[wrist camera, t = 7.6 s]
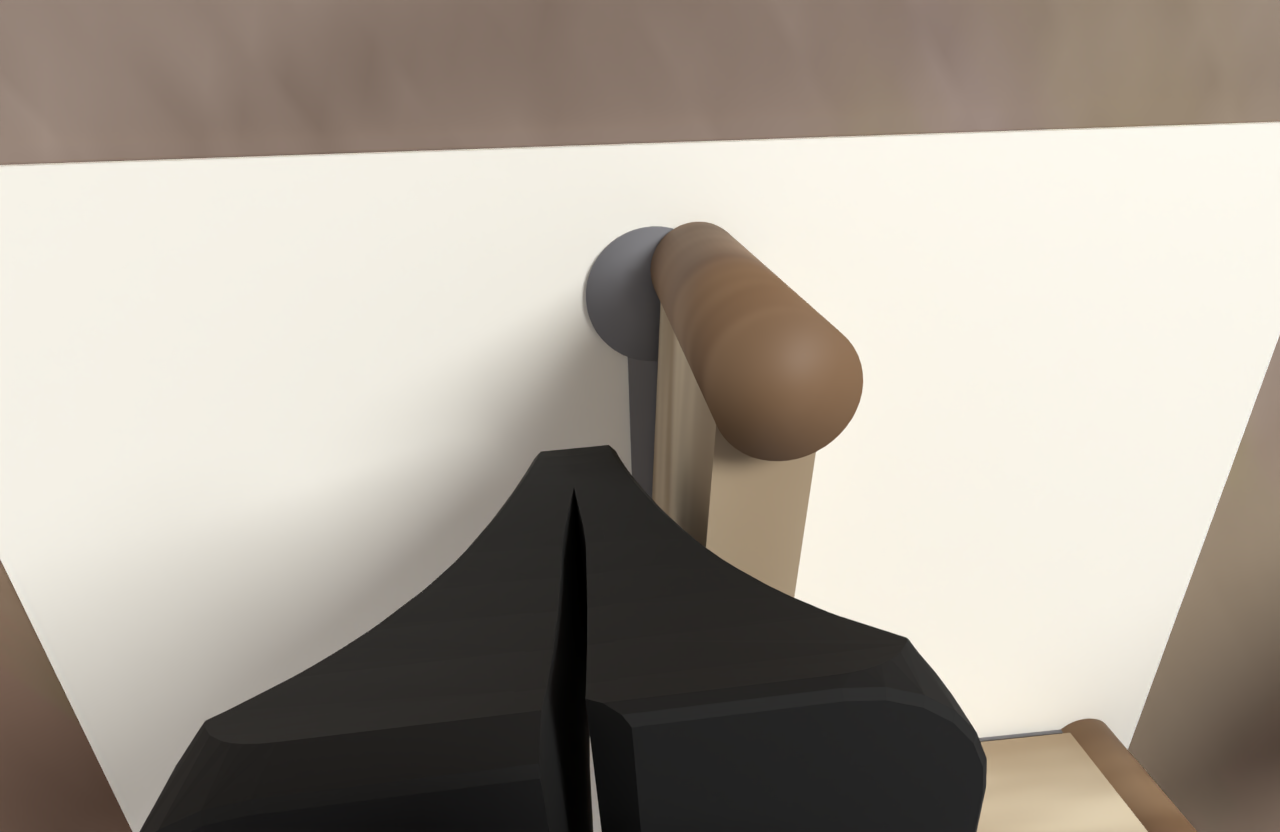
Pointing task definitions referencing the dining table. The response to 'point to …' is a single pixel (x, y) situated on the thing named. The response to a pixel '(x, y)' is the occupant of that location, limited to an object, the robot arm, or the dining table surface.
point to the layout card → (619, 393)
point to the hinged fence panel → (742, 401)
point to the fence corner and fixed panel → (1072, 785)
